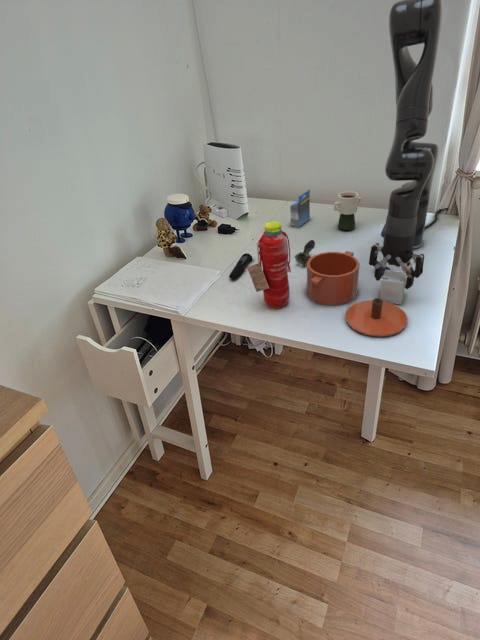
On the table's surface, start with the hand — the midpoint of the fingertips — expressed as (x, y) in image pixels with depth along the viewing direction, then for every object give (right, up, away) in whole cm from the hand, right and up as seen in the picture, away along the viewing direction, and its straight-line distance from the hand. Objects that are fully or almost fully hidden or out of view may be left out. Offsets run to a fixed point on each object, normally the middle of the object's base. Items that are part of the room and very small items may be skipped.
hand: (392, 283), depth 122 cm
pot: (-15, -2, +9) cm, 18 cm away
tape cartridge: (-19, +28, +51) cm, 61 cm away
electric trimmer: (-42, +6, +24) cm, 49 cm away
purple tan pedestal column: (+2, +4, +15) cm, 15 cm away
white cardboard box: (+1, -4, +3) cm, 5 cm away
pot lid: (-6, -10, -5) cm, 13 cm away
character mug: (-3, +24, +43) cm, 49 cm away
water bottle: (-33, -6, +6) cm, 34 cm away
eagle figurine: (-20, +10, +25) cm, 34 cm away
